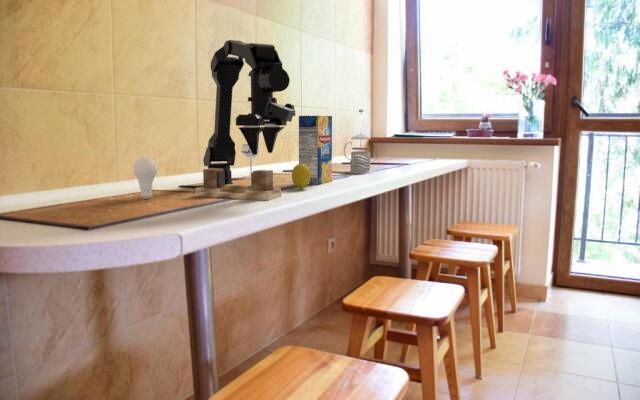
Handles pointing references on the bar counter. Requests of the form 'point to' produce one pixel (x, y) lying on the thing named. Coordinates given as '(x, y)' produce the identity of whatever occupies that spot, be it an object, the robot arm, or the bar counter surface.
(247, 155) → the wineglass
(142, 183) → the lightbulb
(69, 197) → the bar counter surface
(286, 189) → the bar counter surface
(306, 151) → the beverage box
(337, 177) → the bar counter surface
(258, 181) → the beige cardboard cube
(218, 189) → the rail
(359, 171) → the french press
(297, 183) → the lemon
